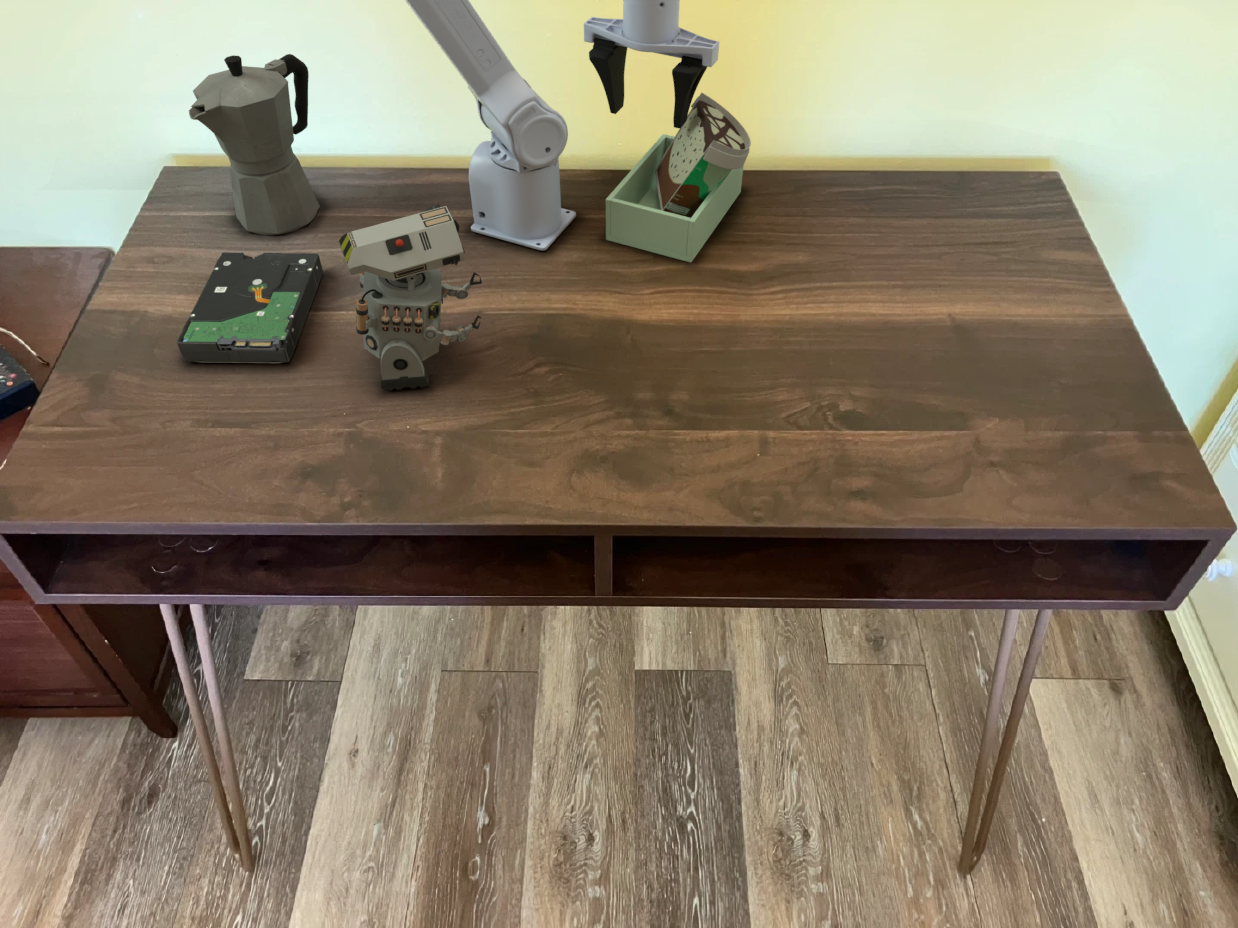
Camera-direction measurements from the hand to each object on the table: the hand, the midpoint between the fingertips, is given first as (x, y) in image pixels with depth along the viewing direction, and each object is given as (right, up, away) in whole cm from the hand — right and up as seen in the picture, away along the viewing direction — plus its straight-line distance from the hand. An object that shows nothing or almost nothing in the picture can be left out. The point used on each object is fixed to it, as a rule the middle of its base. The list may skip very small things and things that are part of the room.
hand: (648, 116), depth 103 cm
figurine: (-22, -28, -13) cm, 38 cm away
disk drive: (-40, -24, -9) cm, 47 cm away
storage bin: (+3, -10, +4) cm, 11 cm away
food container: (+4, -9, +3) cm, 10 cm away
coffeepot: (-41, -9, +4) cm, 43 cm away
